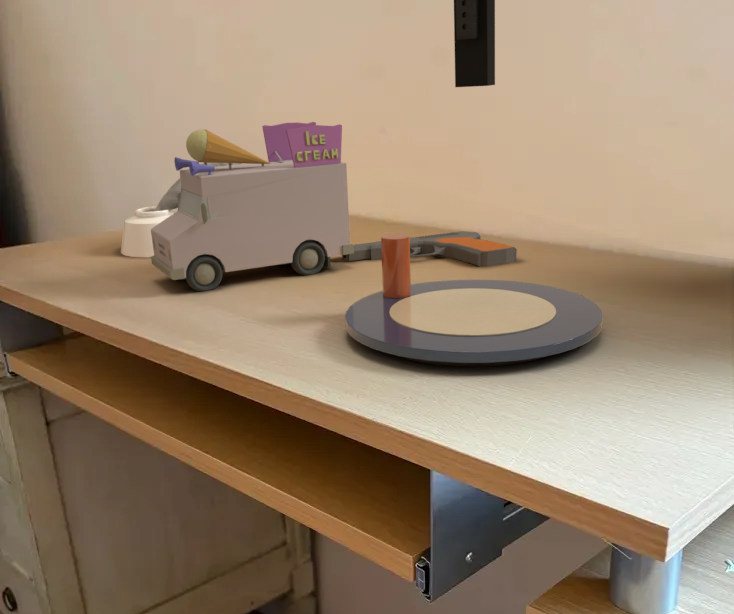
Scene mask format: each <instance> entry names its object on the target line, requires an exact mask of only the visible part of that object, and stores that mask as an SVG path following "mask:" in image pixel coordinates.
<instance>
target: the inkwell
mask: <svg viewBox="0 0 734 614" xmlns="http://www.w3.org/2000/svg"><path fill="white" fill-rule="evenodd" d="M201 164H202V165H205V164H204V162H201ZM239 164H242V163H231V165H239ZM207 165H209V166H214V167H217V166H228V165H229V163H207ZM180 191H181V180H180V178H178V179H177V180H176V181H175V182H174V183H173V184H172V185H171V186H170V187H169V188H168V190H167V191H166V192H165V194H164V195H163V196H162V197H161V198H160V200H159V202H158V203H157V205H154V206H153V205H152V206H145V207H141V208H137V209H135V211H134V214H135V215H133V216H130V217H127V218H126V219H125V220H124V223H123V230H122V237H121V245H120V254H122V255H123V256H125V257H131V258H144V259H145V258H151V257H152V256H153V255H154V250H153V243H152V236H151V229H152V228H153V227H155V226H156V225H158V224H159V223H161V222H162V221H164V220H165V219H167V218H168V217H170V216H171V215H173V214H174V213H175V212H174V211H175V210H176V209H178V204H179V202H178V192H179V195H180Z"/></svg>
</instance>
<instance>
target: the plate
mask: <svg viewBox="0 0 734 614" xmlns="http://www.w3.org/2000/svg"><path fill="white" fill-rule="evenodd" d="M410 238H411V235H410V234H407V233H397V232H396V233H387V234H382V235H381V236H380V241H381V253H382V259H381V283H382V284H381V285H382V290H380V291H377V292H374V293H371V294H369V295H367V296H364V297H361V298H360V299H358V300H357V301H355V302H354V303H353V304H351V305H350V306H349V307H348V308H347V310H346V312H345V316H344V324H345V330H346V331H347V334H348V335H349V336H350V337H351V338H352V339H353V340H355V341H357V342H358V343H360V344H361V345H364V346H365V347H368V348H370V349H373V350H376V351H379V352H382V353H384V354H388V355H393V356H396V355H397V356H396V357H399V356H402V357H407V358H413V359H420V360H428V361H439V362H454V363H492V362H508V361H518V360H527V359H533V358H539V357H544V358H546V357H545V356H547V357H550V356H553V355H559V354H561V353H564V352H568V351H572V350H575V349H577V348H579V347H582V346H584V345H586V344H588V343H590V342H591V341H592V340H594V339H595V338H597V336H599V334H600V332H601V331H602V327H603V323H604V313H603V310H602V309H601V308H600V306H599V305H598V304H596V303H595V302H594V301H593V300H591V299H589V298H588V297H585V296H583V295H582V294H581V295H580V294H579V293H576V292H573V291H570V290H567V289H563V288H558V287H554V286H550V285H544V284H540V283H539V284H538V283H532V282H526V281H525V282H524V281H516V280H503V279H451V280H449V279H448V280H438V281H427V282H420V283H419V282H418V283H411V282H412V278H411V277H412V274H411V273H412V272H411V271H412V270H411V269H412V268H411V257H410ZM549 355H550V356H549ZM402 357H401V358H402Z"/></svg>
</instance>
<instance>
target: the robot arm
mask: <svg viewBox="0 0 734 614" xmlns="http://www.w3.org/2000/svg"><path fill="white" fill-rule="evenodd" d="M453 24H454V25H453V32H454V33H453V37H454V38H453V39H454V87H455V88H468V87H469V88H471V87H472V88H473V87H488V86H495V85H496V0H453Z"/></svg>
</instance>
